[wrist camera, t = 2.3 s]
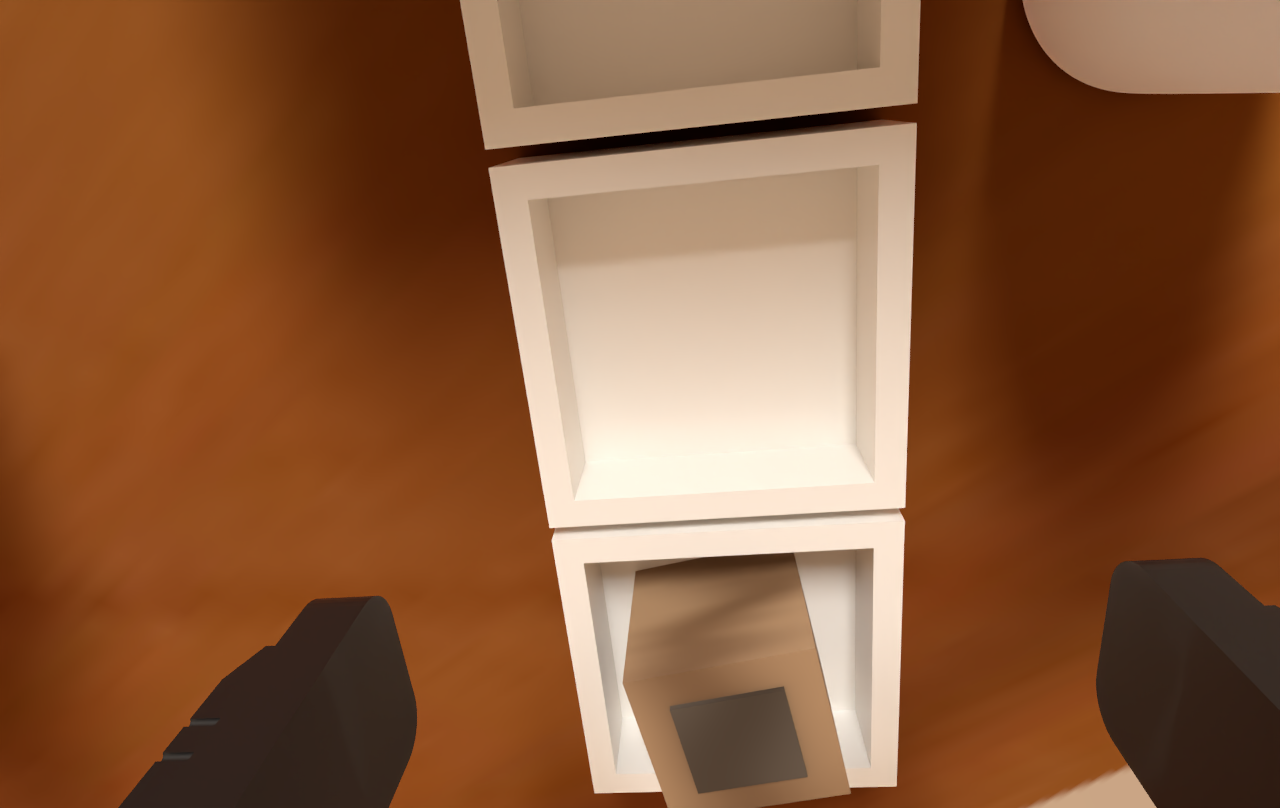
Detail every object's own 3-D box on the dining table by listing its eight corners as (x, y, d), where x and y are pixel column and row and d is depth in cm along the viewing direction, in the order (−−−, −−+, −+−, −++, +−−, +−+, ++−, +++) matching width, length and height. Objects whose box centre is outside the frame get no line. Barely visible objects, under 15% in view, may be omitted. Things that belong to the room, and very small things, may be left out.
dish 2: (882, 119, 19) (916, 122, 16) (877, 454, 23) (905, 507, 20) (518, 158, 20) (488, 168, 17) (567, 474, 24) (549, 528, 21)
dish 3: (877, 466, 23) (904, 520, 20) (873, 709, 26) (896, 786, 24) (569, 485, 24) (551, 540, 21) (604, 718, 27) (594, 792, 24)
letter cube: (790, 539, 23) (816, 652, 18) (821, 665, 25) (852, 798, 20) (630, 572, 24) (616, 688, 19) (671, 691, 26) (667, 825, 21)
